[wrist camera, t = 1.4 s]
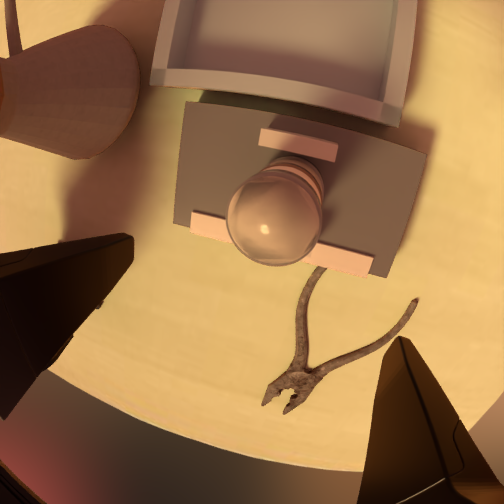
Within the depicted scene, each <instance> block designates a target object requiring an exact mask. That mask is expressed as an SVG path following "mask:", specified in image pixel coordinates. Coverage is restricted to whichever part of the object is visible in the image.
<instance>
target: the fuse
mask: <svg viewBox="0 0 504 504" xmlns="http://www.w3.org/2000/svg"><path fill="white" fill-rule="evenodd" d="M323 199H324V181H323V178H322V175H321V173H320V171H319V170H318V168H317V167H316V166H315V165H314V164H313V163H312V162H310V161H309V160H307V159H305V158H303V157H300V156H295V155H287V156H282V157H279V158H277V159H275V160H273V161H272V162H270V163H269V164H268V165H266V166H265V167H264V168H263V169H262V170H261V171H259V172H258V173H256V174H254V175H253V176H251V177H250V178H248V179H247V180H246V181H244V182H243V183H242V184H240V185H239V186H238V187H237V188H236V189H235V191H234V192H233V193H232V195H231V197H230V199H229V201H228V204H227V208H226V215H225V219H226V227H227V231H228V234H229V236H230V238H231V240H232V242H233V243H234V245H235V246H236V247H237V249H238V250H239V251H240V252H241V253H242V254H244V255H245V256H246V257H248V258H249V259H251V260H253V261H255V262H257V263H260V264H263V265H267V266H286V265H290V264H293V263H295V262H298V261H300V260H301V259H303V258H304V257H305V256H307V255H308V254H309V253H310V252H311V251H312V250H313V248H314V247H315V245H316V243H317V241H318V239H319V236H320V233H321V227H322V203H323Z"/></svg>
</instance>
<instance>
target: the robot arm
mask: <svg viewBox="0 0 504 504" xmlns="http://www.w3.org/2000/svg"><path fill="white" fill-rule="evenodd" d="M133 260H134V238H133V236H131V235H128V234H126V233H117V234H111V235H105V236H99V237H92V238H86V239H81V240H75V241H69V242H63V243H58V244H52V245H46V246H41V247H36V248H34V249H33V248H30V249H25V250H19V251H14V252H7V253H0V418H1V419H2V420H3V421H4V420H5V419H6V418H7V417H8V415H9V414H10V413H11V411H12V410H13V409H14V407H15V406H16V405H17V403H18V402H19V401H20V399H21V398H22V397H23V395H24V394H25V393H26V391H27V390H28V389H29V388H30V386H31V385H32V384H33V382H34V381H35V380H36V377H38V376H39V375H40V373H41V372H42V371H44V370H46V369H47V368H49V367H50V366H51V365H52V364H53V363H54V362H55V361H56V360H57V359H58V357H59V356H60V355H61V353H62V352H63V350H64V349H65V348H66V346H67V345H68V343H69V342H70V341H71V339H72V338H73V337H74V336H73V334H74V332H75V331H76V330H77V329H78V328H79V327H80V326H81V324H82V323H83V322H84V321H85V320H86V319H87V318H88V316H89V315H90V314H91V313H92V312H93V311H94V310H95V309H99V308H100V307H101V302H102V301H103V300H104V299H105V298H106V296H107V295H108V294H109V293H110V292H111V290H112V289H113V288H114V286H115V285H116V284H117V282H118V281H119V280H120V278H121V277H122V276H123V275H124V273H125V272H126V271H127V269H128V268H129V267H130V265H131V264H132V262H133ZM0 504H47V503H46V502H45V501H43V500H42V499H41V498H40V497H39V496H37V495H36V494H35V493H34V492H33V491H32V490H31V489H30V488H29V487H28V486H26V485H25V484H24V483H23V482H22V481H21V480H20V479H19V478H18V477H17V476H16V475H15V474H14V473H13V472H12V471H11V470H10V469H9V468H8V467H7V466H6V465H5V464H4V463H3V462H2V461H1V460H0ZM357 504H504V486H503V485H502V484H501V483H500V482H499V480H498V479H497V478H496V476H495V474H494V473H493V471H492V469H491V468H490V466H489V465H488V463H487V462H486V460H485V459H484V457H483V456H482V454H481V452H480V451H479V450H478V448H477V446H476V445H475V443H474V441H473V440H472V438H471V436H470V435H469V433H468V431H467V430H466V428H465V426H464V424H463V423H462V421H461V420H459V416H458V414H457V413H456V411H455V409H454V407H453V406H452V404H451V402H450V401H449V399H448V398H447V396H446V394H445V393H444V391H443V389H442V388H441V386H440V385H439V383H438V381H437V380H436V378H435V377H434V375H433V374H432V372H431V370H430V369H429V367H428V366H427V364H426V363H425V361H424V360H423V358H422V357H421V355H420V354H419V352H418V351H417V349H416V348H415V346H414V345H413V343H412V342H411V340H410V339H408V338H405V337H402V336H397V337H396V338H395V339H394V341H393V342H392V344H391V345H390V347H389V348H388V350H387V351H386V353H385V354H384V357H383V360H382V365H381V370H380V375H379V380H378V385H377V389H376V394H375V399H374V405H373V414H372V422H371V429H370V436H369V443H368V449H367V455H366V461H365V466H364V471H363V477H362V481H361V486H360V491H359V495H358V500H357Z"/></svg>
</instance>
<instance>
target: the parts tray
mask: <svg viewBox="0 0 504 504" xmlns="http://www.w3.org/2000/svg"><path fill="white" fill-rule="evenodd" d="M417 1H418V0H165V3H164V8H163V12H162V16H161V21H160V26H159V30H158V35H157V40H156V46H155V51H154V57H153V63H152V69H151V75H150V82H149V85H152V86H161V87H169V88H186V89H200V90H211V91H221V92H230V93H238V94H246V95H253V96H260V97H266V98H272V99H278V100H284V101H289V102H294V103H299V104H304V105H309V106H314V107H318V108H323V109H327V110H331V111H335V112H339V113H343V114H347V115H351V116H355V117H358V118H362V119H365V120H369V121H372V122H376V123H379V124H382V125H385V126H389V127H398V128H399V123H400V119H401V114H402V109H403V104H404V99H405V93H406V88H407V82H408V76H409V70H410V63H411V56H412V49H413V41H414V33H415V24H416V13H417Z"/></svg>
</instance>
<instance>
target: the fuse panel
mask: <svg viewBox="0 0 504 504" xmlns="http://www.w3.org/2000/svg"><path fill="white" fill-rule="evenodd" d="M287 155H295V156H300V157H303V158H305V159H307V160H309V161H310V162H312V163H313V164H314V165H315V166H316V167H317V168H318V170H319V171H320V173H321V175H322V178H323V181H324V199H323V203H322V227H321V233H320V236H319V239H318V241H317V243H316V245H315V247H314V248H313V250H312V251H311V252H310V253H309V254H308V255H307V256H305V257H304V258H303V259H301V260H300V261H302V262H306V263H310V264H313V265H317V266H321V267H325V268H329V269H333V270H336V271H340V272H344V273H348V274H352V275H356V276H360V277H363V278H367V275H368V274H372V275H376V276H380V277H383V278H387V276H388V273H389V271H390V268H391V266H392V263H393V261H394V258H395V255H396V253H397V250H398V247H399V245H400V242H401V239H402V236H403V233H404V230H405V228H406V225H407V222H408V219H409V216H410V212H411V209H412V206H413V203H414V200H415V197H416V193H417V190H418V186H419V183H420V179H421V176H422V172H423V169H424V165H425V161H426V157H427V154H424V153H422V152H419V151H416V150H413V149H411V148H408V147H405V146H402V145H399V144H396V143H393V142H389V141H386V140H383V139H380V138H377V137H373V136H370V135H366V134H363V133H359V132H356V131H352V130H348V129H345V128H341V127H337V126H333V125H329V124H325V123H320V122H316V121H312V120H307V119H302V118H298V117H293V116H288V115H283V114H277V113H272V112H266V111H260V110H254V109H247V108H241V107H233V106H226V105H218V104H209V103H199V102H187V101H186V104H185V111H184V119H183V126H182V134H181V143H180V151H179V161H178V171H177V181H176V193H175V205H174V219H173V223H174V224H178V225H182V226H186V227H190V233H193V234H197V235H201V236H205V237H209V238H213V239H217V240H221V241H224V242H228V243H232V244H234V243H233V242H232V240H231V238H230V236H229V234H228V231H227V227H226V219H225V215H226V208H227V204H228V201H229V199H230V197H231V195H232V193H233V192H234V191H235V189H236V188H237V187H238V186H239V185H240V184H242V183H243V182H244V181H246V180H247V179H248V178H250V177H251V176H253V175H254V174H256V173H258V172H259V171H261V170H262V169H263V168H264V167H265V166H266V165H268V164H269V163H270V162H272V161H273V160H275V159H277V158H279V157H282V156H287Z"/></svg>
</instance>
